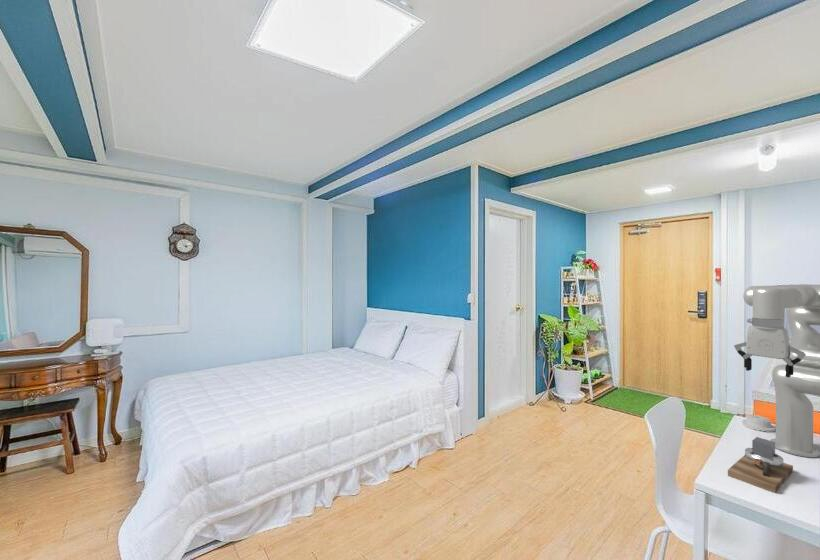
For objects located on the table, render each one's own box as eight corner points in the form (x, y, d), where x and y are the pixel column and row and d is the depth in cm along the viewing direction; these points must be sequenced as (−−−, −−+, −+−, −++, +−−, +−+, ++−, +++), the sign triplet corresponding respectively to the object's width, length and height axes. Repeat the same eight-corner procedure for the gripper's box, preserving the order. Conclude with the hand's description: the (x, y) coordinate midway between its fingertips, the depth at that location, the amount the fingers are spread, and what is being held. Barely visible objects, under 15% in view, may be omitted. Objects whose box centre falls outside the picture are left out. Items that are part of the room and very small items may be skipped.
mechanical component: (772, 426, 151) (740, 420, 157) (772, 416, 151) (740, 411, 157) (777, 435, 143) (744, 428, 149) (777, 424, 143) (744, 418, 149)
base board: (748, 457, 126) (748, 440, 126) (792, 471, 116) (793, 453, 116) (727, 475, 115) (727, 457, 114) (775, 493, 105) (775, 473, 105)
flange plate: (750, 449, 122) (750, 432, 122) (787, 461, 114) (787, 443, 114) (738, 458, 116) (738, 440, 116) (776, 471, 108) (776, 452, 108)
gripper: (730, 321, 124) (730, 369, 125) (802, 327, 110) (802, 381, 110) (738, 320, 128) (738, 366, 129) (808, 325, 114) (808, 377, 114)
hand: (767, 373), depth 119 cm, fingers open, 9 cm apart
